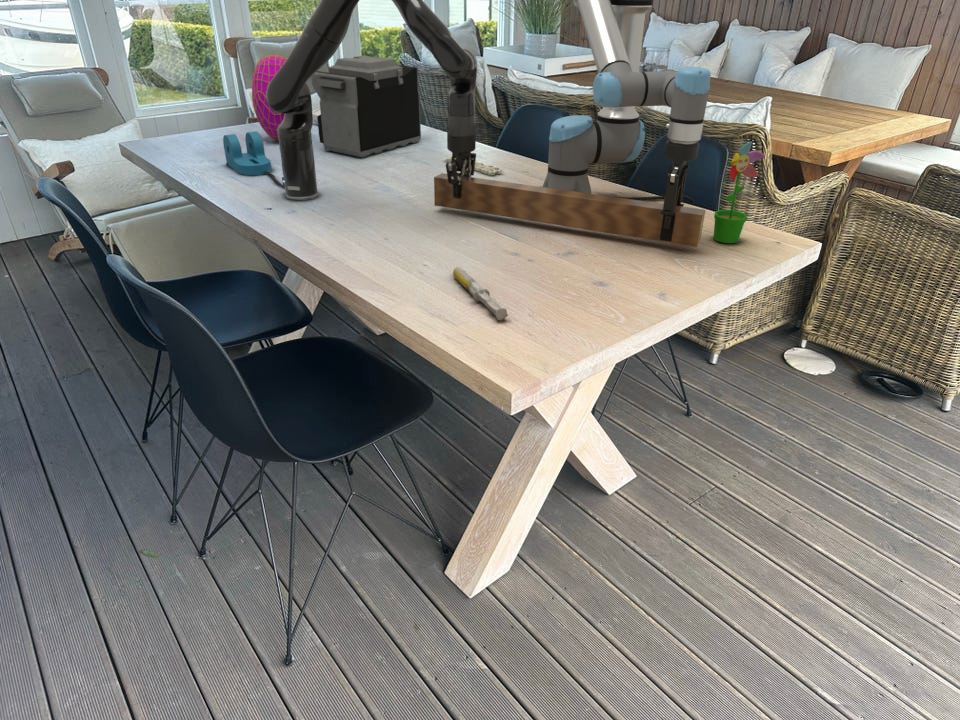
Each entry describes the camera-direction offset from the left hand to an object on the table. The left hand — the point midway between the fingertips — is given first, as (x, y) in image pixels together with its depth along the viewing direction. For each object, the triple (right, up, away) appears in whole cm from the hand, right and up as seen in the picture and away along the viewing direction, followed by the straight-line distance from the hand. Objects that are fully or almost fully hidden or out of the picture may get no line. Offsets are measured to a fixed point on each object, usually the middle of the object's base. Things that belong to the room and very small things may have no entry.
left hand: (461, 195), depth 189 cm
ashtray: (-55, +57, +106) cm, 132 cm away
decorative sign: (+2, +20, +45) cm, 49 cm away
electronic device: (-36, +35, +69) cm, 85 cm away
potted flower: (+68, -15, -13) cm, 71 cm away
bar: (+26, -9, -9) cm, 29 cm away
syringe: (+5, -32, -44) cm, 55 cm away
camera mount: (-71, +18, +40) cm, 84 cm away
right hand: (+52, -15, -19) cm, 57 cm away
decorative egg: (-70, +39, +75) cm, 110 cm away
